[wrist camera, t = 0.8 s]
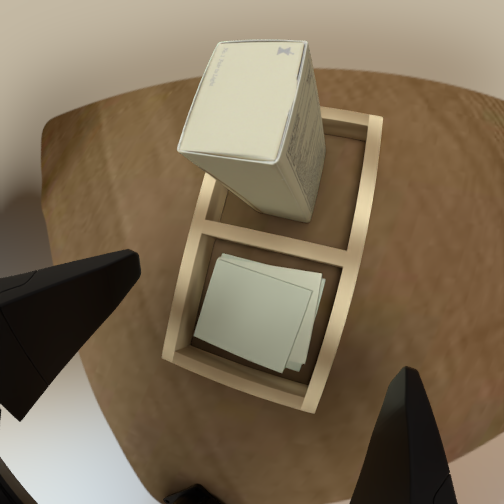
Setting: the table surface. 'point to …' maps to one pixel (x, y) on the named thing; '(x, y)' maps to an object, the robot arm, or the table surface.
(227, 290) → the offcut stack
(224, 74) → the skincare box
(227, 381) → the tray
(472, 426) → the table surface
